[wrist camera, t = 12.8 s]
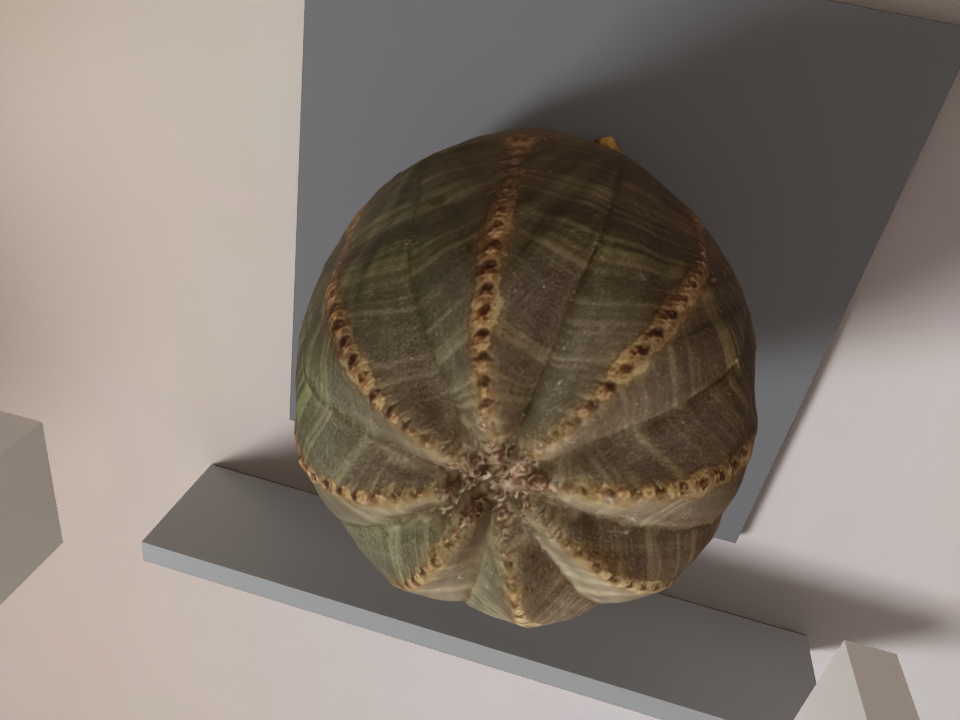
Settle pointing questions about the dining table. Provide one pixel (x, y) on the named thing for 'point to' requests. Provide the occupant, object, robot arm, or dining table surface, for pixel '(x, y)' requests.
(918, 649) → the dining table surface
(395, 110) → the rest mat
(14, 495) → the robot arm
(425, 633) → the acrylic wall
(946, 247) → the dining table surface
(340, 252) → the ribbed globe cactus
